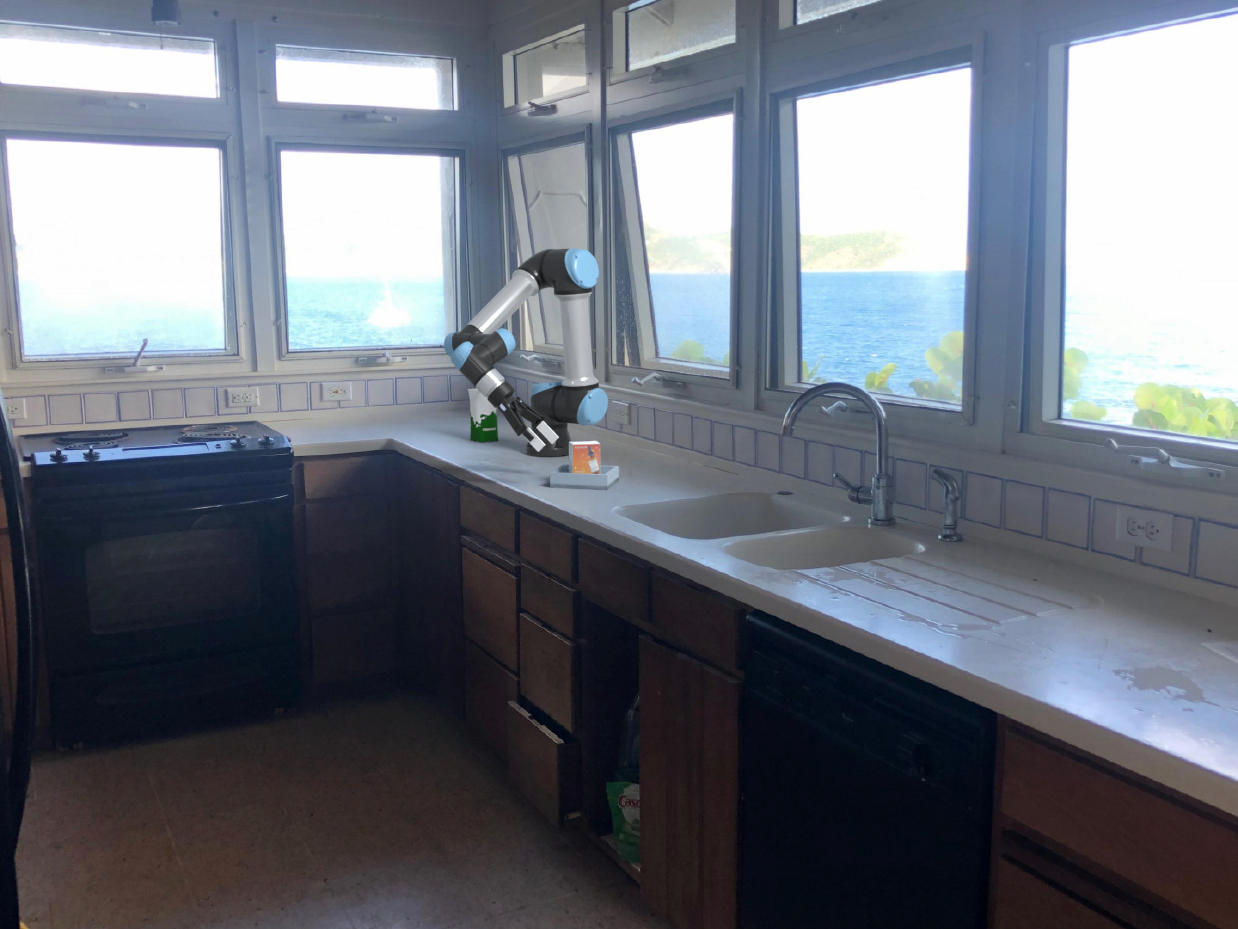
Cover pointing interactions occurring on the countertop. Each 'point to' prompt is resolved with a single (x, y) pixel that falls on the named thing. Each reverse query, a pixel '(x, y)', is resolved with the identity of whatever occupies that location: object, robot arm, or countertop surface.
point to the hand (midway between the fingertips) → (549, 444)
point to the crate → (584, 478)
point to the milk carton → (482, 418)
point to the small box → (584, 457)
